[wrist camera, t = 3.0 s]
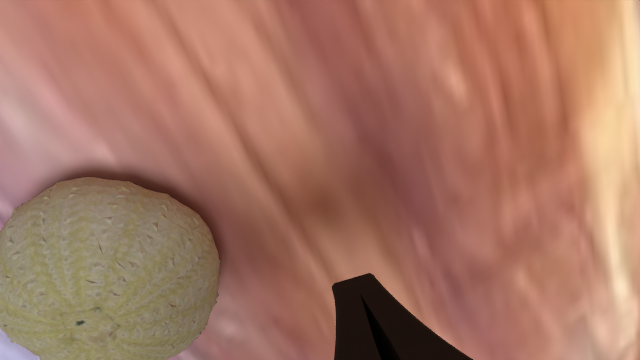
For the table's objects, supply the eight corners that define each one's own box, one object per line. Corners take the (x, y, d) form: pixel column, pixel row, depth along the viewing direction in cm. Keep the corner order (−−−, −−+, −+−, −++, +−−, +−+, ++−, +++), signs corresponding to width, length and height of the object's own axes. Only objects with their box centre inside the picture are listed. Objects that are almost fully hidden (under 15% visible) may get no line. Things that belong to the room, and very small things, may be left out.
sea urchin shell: (68, 391, 19) (-104, 445, 11) (59, 237, 21) (-86, 195, 14) (250, 337, 19) (206, 352, 12) (221, 195, 22) (170, 133, 14)
